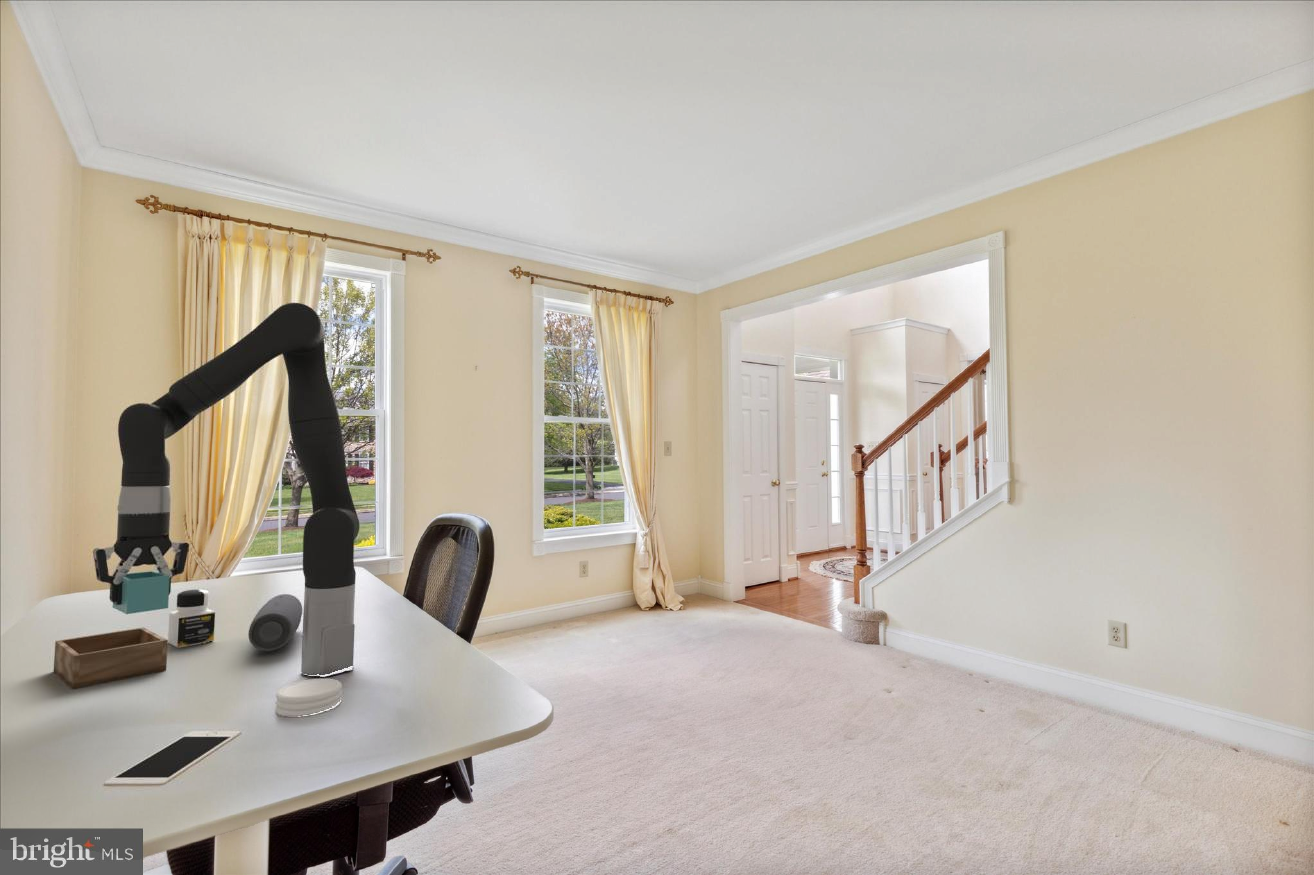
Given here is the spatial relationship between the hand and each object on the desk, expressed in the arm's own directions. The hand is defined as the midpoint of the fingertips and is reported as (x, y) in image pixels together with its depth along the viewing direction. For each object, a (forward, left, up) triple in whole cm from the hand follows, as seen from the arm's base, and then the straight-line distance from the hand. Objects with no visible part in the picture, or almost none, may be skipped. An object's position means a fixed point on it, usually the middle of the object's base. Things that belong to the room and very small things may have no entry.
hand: (140, 600), depth 115 cm
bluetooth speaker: (+13, -29, -16) cm, 36 cm away
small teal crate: (0, 0, -1) cm, 1 cm away
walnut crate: (+17, 0, -16) cm, 24 cm away
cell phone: (-38, +4, -17) cm, 42 cm away
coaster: (-33, -16, -17) cm, 40 cm away
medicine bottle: (+29, -17, -16) cm, 37 cm away
